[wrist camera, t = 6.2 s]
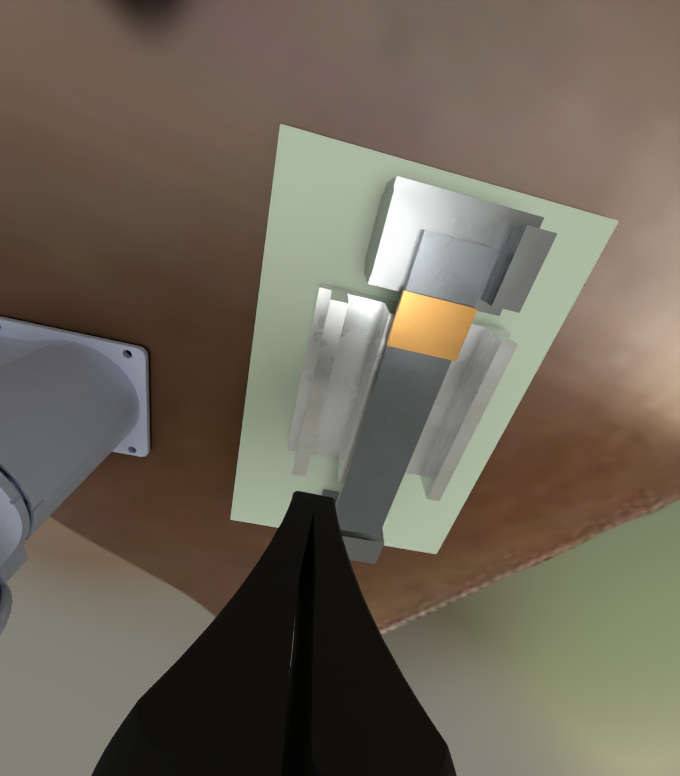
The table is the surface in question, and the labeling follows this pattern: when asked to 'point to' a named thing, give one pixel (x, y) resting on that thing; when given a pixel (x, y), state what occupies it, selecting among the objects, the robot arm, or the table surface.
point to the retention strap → (411, 373)
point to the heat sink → (356, 377)
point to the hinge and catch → (461, 221)
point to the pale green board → (346, 270)
